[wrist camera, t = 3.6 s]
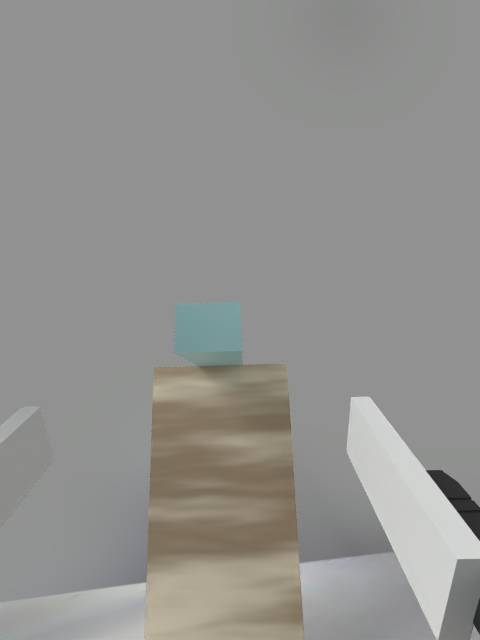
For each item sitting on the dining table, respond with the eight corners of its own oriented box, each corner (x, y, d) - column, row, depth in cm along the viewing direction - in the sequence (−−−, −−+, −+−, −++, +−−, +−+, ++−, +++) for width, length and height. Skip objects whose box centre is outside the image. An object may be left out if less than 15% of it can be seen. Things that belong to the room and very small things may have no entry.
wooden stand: (314, 804, 21) (286, 363, 28) (139, 809, 21) (153, 367, 28) (288, 657, 33) (273, 371, 40) (175, 660, 33) (180, 374, 40)
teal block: (242, 350, 18) (240, 301, 19) (174, 352, 18) (175, 303, 19) (242, 374, 44) (241, 353, 44) (214, 375, 44) (213, 353, 44)
